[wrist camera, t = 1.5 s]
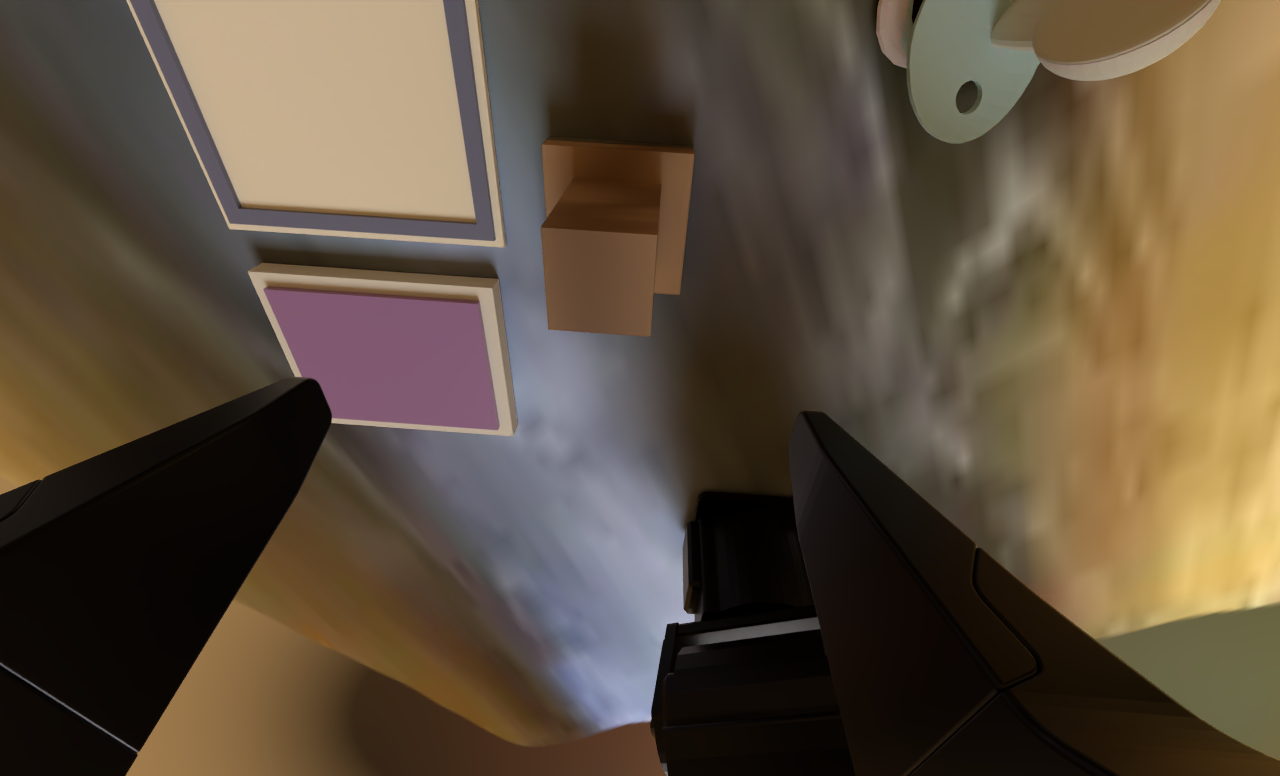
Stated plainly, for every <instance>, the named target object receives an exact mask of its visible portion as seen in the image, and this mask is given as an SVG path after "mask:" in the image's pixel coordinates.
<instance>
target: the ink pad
mask: <svg viewBox="0 0 1280 776" xmlns="http://www.w3.org/2000/svg"><path fill="white" fill-rule="evenodd" d="M248 274H249V276H250V278H251V280H252V283H253V285H254V287H255V289H256V291H257V294H258V296H259V298H260V300H261V302H262V305H263V307H264V309H265V311H266V313H267V316H268V318H269V320H270V322H271V324H272V327H273V329H274V331H275V333H276V335H277V338H278V340H279V342H280V344H281V346H282V349H283V351H284V353H285V355H286V358H287V360H288V362H289V364H290V366H291V369H292V371H293V373H294V375H295V377H307V378H313V379H315V380H317V381H318V382H319V384H320V386H321V388H322V390H323V393H324V395H325V397H326V400H327V402H328V404H329V407H330V409H331V412H332V422H331V423H340V424H354V425H367V426H381V427H394V428H408V429H422V430H435V431H449V432H462V433H476V434H489V435H503V436H514V433H515V431H516V428H517V425H518V422H517V414H516V406H515V399H514V391H513V384H512V376H511V369H510V361H509V353H508V346H507V338H506V331H505V323H504V316H503V308H502V301H501V293H500V285H499V279H492V278H477V277H463V276H448V275H433V274H419V273H404V272H389V271H375V270H360V269H345V268H331V267H316V266H301V265H287V264H272V263H261V264H260V265H258V266H256V267H254V268H253V269H251V270H249V271H248Z"/></svg>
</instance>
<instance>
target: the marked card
mask: <svg viewBox="0 0 1280 776" xmlns="http://www.w3.org/2000/svg"><path fill="white" fill-rule="evenodd" d="M126 1H127V3H128V5H129V7H130V10H131V12H132V14H133V16H134V19H135V21H136V23H137V25H138V27H139V30H140V32H141V34H142V36H143V38H144V41H145V43H146V45H147V47H148V50H149V52H150V54H151V56H152V58H153V61H154V63H155V65H156V67H157V69H158V72H159V74H160V76H161V78H162V81H163V83H164V85H165V87H166V89H167V92H168V94H169V96H170V98H171V100H172V103H173V105H174V107H175V109H176V112H177V114H178V116H179V118H180V120H181V123H182V125H183V127H184V129H185V131H186V134H187V136H188V138H189V140H190V143H191V145H192V147H193V149H194V151H195V154H196V156H197V158H198V160H199V162H200V165H201V167H202V169H203V171H204V174H205V176H206V178H207V180H208V182H209V185H210V187H211V189H212V191H213V193H214V196H215V198H216V200H217V202H218V205H219V207H220V209H221V211H222V213H223V216H224V218H225V220H226V222H227V224H228V227H229V229H238V230H253V231H268V232H283V233H298V234H313V235H328V236H342V237H357V238H372V239H387V240H402V241H417V242H432V243H447V244H461V245H476V246H491V247H505V246H506V237H505V228H504V219H503V211H502V202H501V194H500V185H499V177H498V168H497V160H496V151H495V143H494V134H493V125H492V117H491V108H490V100H489V91H488V83H487V74H486V66H485V57H484V48H483V40H482V31H481V23H480V14H479V6H478V0H126Z"/></svg>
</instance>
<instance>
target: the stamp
mask: <svg viewBox="0 0 1280 776" xmlns="http://www.w3.org/2000/svg"><path fill="white" fill-rule="evenodd" d="M542 158H543V173H544V189H545V204H546V220H545V222H544V223H543V225H542V226H541V237H542V251H543V264H544V278H545V292H546V306H547V319H548V330H563V331H577V332H591V333H606V334H620V335H634V336H648V337H650V335H651V322H652V309H653V296H654V293H659V294H674V295H680V288H681V279H682V269H683V260H684V250H685V240H686V231H687V221H688V212H689V202H690V193H691V183H692V173H693V164H694V148H693V145H677V144H662V143H646V142H630V141H614V140H598V139H582V138H566V137H551V136H550V137H549V138H548V139H547V140H546V141H545V142H544V143H543V144H542Z"/></svg>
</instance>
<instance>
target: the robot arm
mask: <svg viewBox="0 0 1280 776" xmlns="http://www.w3.org/2000/svg"><path fill="white" fill-rule="evenodd" d="M331 422H332V412H331V409H330V407H329V404H328V402H327V400H326V397H325V395H324V393H323V390H322V388H321V386H320V384H319V382H318V381H317V380H315V379H313V378H307V377H289V378H286V379H284V380H281V381H279V382H276V383H274V384H271V385H269V386H266V387H264V388H262V389H259V390H257V391H254V392H252V393H249V394H247V395H244V396H242V397H239V398H237V399H235V400H232V401H230V402H227V403H225V404H222V405H220V406H217V407H215V408H213V409H210V410H208V411H205V412H203V413H200V414H198V415H195V416H193V417H190V418H188V419H186V420H183V421H181V422H178V423H176V424H173V425H171V426H168V427H166V428H163V429H161V430H159V431H156V432H154V433H151V434H149V435H146V436H144V437H141V438H139V439H136V440H134V441H132V442H129V443H127V444H124V445H122V446H119V447H117V448H114V449H112V450H109V451H107V452H105V453H102V454H100V455H97V456H95V457H92V458H90V459H87V460H85V461H83V462H80V463H78V464H75V465H73V466H70V467H68V468H65V469H63V470H60V471H58V472H56V473H53V474H51V475H48V476H46V477H44V478H43V480H36V481H33V482H31V483H28V484H26V485H23V486H21V487H18V488H16V489H14V490H11V491H9V492H6V493H4V494H1V495H0V776H125V775H126V774H127V772H128V771H129V769H130V767H131V766H132V764H133V762H134V761H135V759H136V757H137V752H139V751H140V750H141V748H142V747H143V745H144V744H145V742H146V740H147V739H148V737H149V735H150V734H151V732H152V731H153V729H154V727H155V726H156V724H157V723H158V721H159V719H160V717H161V716H162V714H163V713H164V711H165V709H166V708H167V706H168V705H169V703H170V701H171V699H172V698H173V696H174V695H175V693H176V691H177V690H178V688H179V687H180V685H181V683H182V681H183V680H184V678H185V677H186V675H187V674H188V672H189V670H190V669H191V667H192V665H193V664H194V662H195V661H196V659H197V657H198V655H199V654H200V652H201V651H202V649H203V648H204V646H205V644H206V643H207V641H208V639H209V638H210V636H211V634H212V633H213V631H214V630H215V628H216V626H217V625H218V623H219V622H220V620H221V618H222V617H223V615H224V613H225V612H226V610H227V609H228V607H229V605H230V604H231V602H232V600H233V599H234V597H235V595H236V594H237V592H238V591H239V589H240V587H241V586H242V584H243V582H244V581H245V579H246V578H247V576H248V574H249V573H250V571H251V569H252V568H253V566H254V565H255V563H256V561H257V560H258V558H259V556H260V555H261V553H262V552H263V550H264V548H265V547H266V545H267V543H268V542H269V540H270V538H271V537H272V535H273V534H274V532H275V530H276V529H277V527H278V525H279V524H280V522H281V521H282V519H283V517H284V516H285V514H286V512H287V511H288V509H289V508H290V506H291V504H292V503H293V501H294V499H295V497H296V496H297V494H298V492H299V490H300V488H301V486H302V484H303V482H304V480H305V478H306V476H307V474H308V472H309V470H310V468H311V466H312V463H313V461H314V459H315V457H316V455H317V453H318V451H319V449H320V447H321V444H322V442H323V440H324V438H325V436H326V434H327V432H328V430H329V428H330V425H331ZM788 455H789V465H790V474H791V483H792V492H793V498H783V497H770V496H757V495H743V494H730V493H717V492H703V493H701V494H700V495H699V496H698V500H697V506H696V512H695V517H694V521H691V520H690V521H689V522H688V523H687V526H686V532H685V538H684V544H683V597H684V610H685V611H686V612H687V613H688V614H695V622H691V623H685V624H679V623H672V624H667V628H666V634H665V640H664V641H663V645H662V651H661V657H660V663H659V669H658V675H657V680H656V686H655V692H654V698H653V704H652V710H651V716H652V719H651V724H650V727H651V733H652V735H653V737H654V738H655V739H656V745H657V750H658V755H659V758H660V762H661V765H662V767H663V770H664V772H665V773H666V775H667V776H1280V760H1277V759H1275V758H1273V757H1270V756H1268V755H1266V754H1264V753H1261V752H1260V751H1257V750H1255V749H1253V748H1251V747H1249V746H1247V745H1245V744H1243V743H1241V742H1239V741H1238V740H1236V739H1234V738H1232V737H1230V736H1228V735H1227V734H1224V733H1223V732H1221V731H1220V730H1218V729H1216V728H1215V727H1213V726H1212V725H1210V724H1208V723H1207V722H1205V721H1204V720H1202V719H1201V718H1199V717H1197V716H1196V715H1195V714H1193V713H1192V712H1190V711H1189V710H1188V709H1186V708H1185V707H1184V706H1182V705H1180V704H1179V703H1178V702H1177V701H1175V700H1174V699H1172V697H1170V696H1169V695H1168V694H1166V693H1165V692H1164V691H1162V690H1161V689H1160V688H1158V687H1157V686H1156V685H1154V684H1153V683H1152V682H1150V681H1149V680H1147V679H1146V678H1145V677H1144V676H1142V675H1141V674H1140V673H1138V672H1137V671H1136V670H1134V669H1133V668H1132V667H1131V666H1129V665H1127V663H1125V662H1124V661H1122V660H1121V659H1120V658H1119V657H1117V656H1116V655H1115V654H1113V653H1112V652H1110V651H1109V650H1108V649H1107V648H1105V647H1104V646H1103V645H1101V644H1100V643H1099V642H1098V641H1096V640H1095V639H1094V638H1092V637H1091V636H1090V635H1088V634H1087V633H1086V632H1084V631H1083V630H1082V629H1080V628H1079V627H1078V626H1076V625H1075V624H1074V623H1073V622H1071V621H1070V620H1069V619H1067V618H1066V617H1065V616H1064V615H1062V614H1061V613H1060V612H1058V611H1057V610H1056V609H1055V608H1053V607H1052V606H1051V605H1049V604H1048V603H1047V602H1046V601H1044V600H1043V599H1042V598H1040V597H1039V596H1038V595H1037V594H1035V593H1034V592H1033V591H1032V590H1031V589H1029V588H1028V587H1027V586H1026V585H1025V584H1023V583H1022V582H1021V581H1020V580H1019V579H1017V578H1016V577H1015V576H1014V575H1013V574H1011V573H1010V572H1009V571H1008V570H1006V569H1005V568H1004V567H1003V566H1002V565H1001V564H999V563H998V562H997V561H996V560H995V559H994V558H992V557H991V556H990V555H989V554H988V553H987V552H985V551H984V550H983V549H982V548H977V545H976V543H975V542H974V541H972V540H971V539H970V538H969V537H968V536H967V535H965V534H964V533H963V532H962V531H961V530H960V529H959V528H957V527H956V526H955V525H954V524H953V523H952V522H950V521H949V520H948V519H947V518H946V517H945V516H943V515H942V514H941V513H940V512H939V511H938V510H936V509H935V508H934V507H933V506H932V505H931V504H930V503H928V502H927V501H926V500H925V499H924V498H923V497H921V496H920V495H919V494H918V493H917V492H916V491H914V490H913V489H912V488H911V487H910V486H909V485H907V484H906V483H905V482H904V481H903V480H902V479H901V478H899V477H898V476H897V475H896V474H895V473H894V472H892V471H891V470H890V469H889V468H888V467H887V466H885V465H884V464H883V463H882V462H881V461H880V460H878V459H877V458H876V457H875V456H874V455H873V454H872V453H870V452H869V451H868V450H867V449H866V448H865V447H863V446H862V445H861V444H860V443H859V442H858V441H856V440H855V439H854V438H853V437H852V436H851V435H849V434H848V433H847V432H846V431H845V430H844V429H842V428H841V427H840V426H839V425H838V424H837V423H836V422H834V421H833V420H832V419H831V418H830V417H829V416H827V415H826V414H825V413H823V412H816V411H802V412H800V413H799V415H798V417H797V420H796V423H795V426H794V430H793V433H792V436H791V440H790V443H789V450H788ZM707 500H708V501H707Z"/></svg>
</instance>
